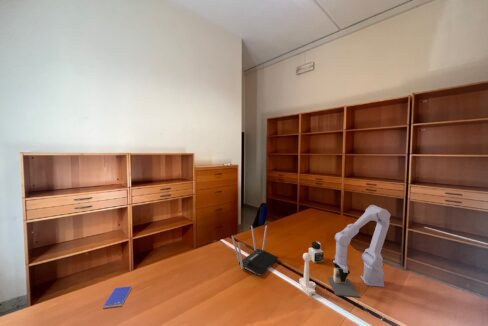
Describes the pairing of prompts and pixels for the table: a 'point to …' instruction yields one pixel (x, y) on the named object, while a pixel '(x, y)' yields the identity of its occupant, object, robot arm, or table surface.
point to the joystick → (307, 277)
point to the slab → (337, 276)
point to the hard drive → (117, 297)
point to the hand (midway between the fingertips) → (340, 277)
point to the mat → (343, 288)
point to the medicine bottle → (316, 252)
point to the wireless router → (256, 257)
